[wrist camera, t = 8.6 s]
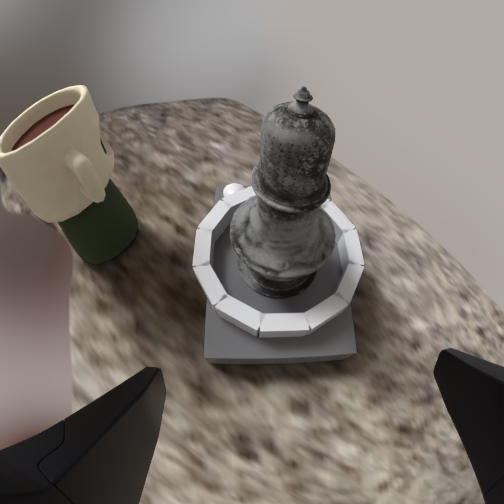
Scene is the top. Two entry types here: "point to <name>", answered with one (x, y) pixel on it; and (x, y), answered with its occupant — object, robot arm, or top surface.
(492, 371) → the robot arm
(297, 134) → the grey stone finial
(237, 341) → the faceted bowl on plate
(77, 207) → the character mug
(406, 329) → the top surface
